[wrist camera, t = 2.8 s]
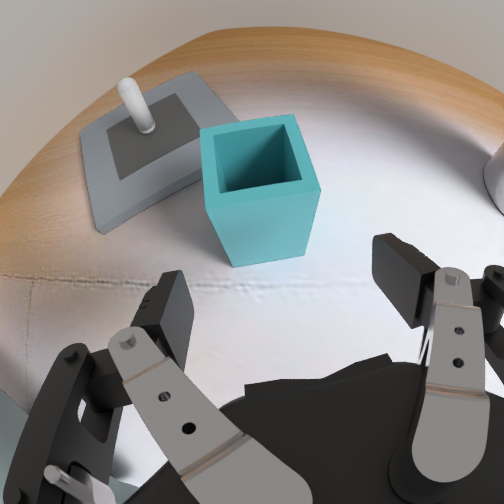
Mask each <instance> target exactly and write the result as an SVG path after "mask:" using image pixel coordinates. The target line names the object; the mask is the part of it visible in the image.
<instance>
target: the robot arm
mask: <svg viewBox="0 0 504 504" xmlns="http://www.w3.org/2000/svg"><path fill="white" fill-rule="evenodd" d="M483 173H484V180H485V184H486V187H487V190H488V192H489V194H490V196H491V198H492V199H493V201H494V203H495V204H496V206H497V207H498V208H499V210H500V211H501V212H502V213H503V214H504V143H503V144H502V145H501V147H500V148H499V149H498V150H497V152H496V153H495V154H494V155H493V157H492V158H491V159H490V160H489V161H488V163H487V164H486V165H485V167H484V172H483ZM372 275H373V279H374V281H375V283H376V284H377V285H378V287H379V288H380V289H381V290H382V292H383V293H384V294H385V295H386V297H387V298H388V299H389V300H390V302H391V303H392V304H393V306H394V307H395V308H396V309H397V311H398V312H399V313H400V315H401V316H402V317H403V319H404V320H405V321H406V323H407V324H408V325H409V327H410V328H411V329H413V328H416V327H419V326H422V325H423V326H424V330H423V334H422V339H421V345H420V350H419V355H418V360H417V364H416V363H409V362H392V360H391V359H390V357H389V355H388V353H386V354H383V355H379V356H376V357H373V358H369V359H366V360H362V361H359V362H355V363H353V364H351V365H349V366H347V367H345V368H343V369H341V370H339V371H337V372H335V373H333V374H331V375H329V376H327V377H325V378H321V379H279V380H273V381H267V382H260V383H254V384H246V385H244V387H245V396H242V397H239V398H237V399H235V400H232V401H230V402H229V403H227V404H225V405H223V406H222V407H221V408H219V409H217V408H216V407H215V406H214V405H213V404H212V403H211V402H210V400H209V399H208V398H207V397H206V396H205V395H204V394H203V393H202V392H201V391H200V390H199V389H198V388H197V387H196V386H195V385H194V384H193V382H192V381H191V380H190V379H189V378H188V377H187V376H186V375H185V374H184V369H185V363H186V357H187V351H188V346H189V340H190V335H191V329H192V324H193V319H194V307H193V302H192V299H191V296H190V293H189V290H188V287H187V284H186V281H185V278H184V275H183V272H182V271H181V270H177V271H171V272H165V273H163V274H162V276H161V278H160V280H159V282H158V284H157V286H153V287H152V288H151V289H150V290H149V291H148V292H147V293H146V294H145V296H144V298H143V300H142V303H141V304H140V306H139V309H138V310H137V312H136V314H135V317H134V319H133V321H132V323H131V325H130V327H128V328H125V329H123V330H120V331H119V332H117V333H116V334H115V335H114V336H113V337H112V338H111V339H110V341H109V343H108V348H107V349H104V350H100V351H97V352H94V353H90V351H89V350H88V348H87V346H86V345H85V344H83V343H75V344H72V345H69V346H68V347H66V348H65V349H63V350H62V351H61V352H60V353H59V355H58V356H57V358H56V360H55V362H54V364H53V366H52V367H51V369H50V371H49V373H48V375H47V377H46V379H45V381H44V383H43V385H42V388H41V390H40V392H39V394H38V396H37V398H36V400H35V403H34V405H33V407H32V409H31V412H30V414H29V416H28V419H27V421H26V424H25V426H24V429H23V431H22V434H21V436H20V439H19V442H18V444H17V447H16V450H15V453H14V456H13V459H12V462H11V465H10V468H9V472H8V475H7V479H6V482H5V486H4V490H3V502H4V504H116V503H115V496H114V494H113V492H112V490H111V489H110V488H109V487H108V485H109V478H110V472H111V466H112V460H113V454H114V449H115V444H116V439H117V434H118V429H119V424H120V420H121V415H122V411H123V406H126V405H130V404H134V406H135V408H136V410H137V411H138V413H139V415H140V417H141V418H142V420H143V422H144V423H145V425H146V427H147V428H148V430H149V431H150V433H151V435H152V436H153V438H154V439H155V441H156V442H157V444H158V445H159V447H160V448H161V450H162V451H163V453H164V454H165V456H166V457H167V459H168V461H167V462H166V463H165V464H164V465H163V466H162V467H161V468H160V469H159V470H158V471H157V472H156V473H155V474H154V475H153V476H152V477H151V478H150V479H149V480H148V481H147V482H145V483H144V484H143V485H142V486H141V487H140V488H139V489H138V490H137V491H136V492H135V493H134V494H133V495H131V496H130V497H129V498H128V499H127V500H126V501H125V502H124V503H122V504H504V398H503V397H500V396H498V395H495V394H492V393H490V392H487V391H485V358H486V359H487V361H488V362H489V364H490V365H491V367H492V368H493V370H494V371H495V372H496V374H497V375H498V377H499V378H500V380H501V381H502V383H503V385H504V328H503V327H502V326H501V325H500V321H501V318H502V316H503V313H504V267H502V266H498V265H490V266H487V267H486V268H485V270H484V274H483V278H482V279H470V278H469V276H468V275H467V274H466V273H465V272H464V271H462V270H460V269H457V268H452V267H444V268H440V267H439V266H438V265H437V264H435V263H434V262H433V261H432V260H431V259H429V258H428V257H427V256H426V257H425V255H424V254H423V253H422V252H420V251H419V250H418V249H417V248H415V247H414V246H413V245H410V244H408V243H405V242H403V241H401V240H400V239H399V238H397V237H396V236H395V235H393V234H392V233H386V234H380V235H375V236H374V237H373V242H372ZM81 399H83V400H84V401H85V402H86V407H85V410H84V413H83V416H82V419H81V422H79V419H78V415H77V412H78V407H79V405H80V402H81Z"/></svg>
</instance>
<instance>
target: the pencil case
mask: <svg viewBox="0 0 504 504" xmlns="http://www.w3.org/2000/svg"><path fill="white" fill-rule="evenodd" d="M28 416H29V415H28V414H27V413H26V412H25V411H24V410H23V409H22V408H21V407H20V406H19V405H18V404H17V403H15V402H14V401H13V400H12V399H11V398H10V397H9V396H8V395H7V394H6V393H5V392H4V391H3V390H0V504H4V502H3V490H4V486H5V482H6V479H7V475H8V472H9V468H10V465H11V462H12V459H13V456H14V453H15V450H16V447H17V444H18V442H19V439H20V436H21V434H22V431H23V429H24V426H25V424H26V421H27V419H28ZM108 487H109V488H110V489H111V490H112V492H113V494H114V496H115V503H116V504H122V503H124V502H125V501H126V500H127V499H128V498H129V497H130V496H131V495H133V494H134V493H135V492H136V491H137V490H138V489H139V488H138V487H136V486H134V485H131V484H127V483H124V482H120V481H117V480H116V479H114V478H113V477H112V476H110V478H109V485H108Z"/></svg>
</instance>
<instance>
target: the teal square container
mask: <svg viewBox="0 0 504 504" xmlns="http://www.w3.org/2000/svg"><path fill="white" fill-rule="evenodd" d="M200 144H201V159H202V173H203V186H204V199H205V210H206V212H207V214H208V216H209V218H210V220H211V222H212V225H213V227H214V229H215V231H216V233H217V235H218V237H219V239H220V241H221V243H222V245H223V248H224V250H225V252H226V254H227V256H228V258H229V260H230V262H231V264H232V266H233V268H235V267H241V266H247V265H253V264H258V263H264V262H270V261H275V260H281V259H287V258H292V257H298V256H303V255H304V254H305V251H306V247H307V243H308V239H309V236H310V232H311V228H312V224H313V220H314V217H315V213H316V209H317V205H318V201H319V197H320V193H321V189H320V186H319V182H318V179H317V177H316V174H315V171H314V168H313V165H312V162H311V159H310V156H309V154H308V151H307V148H306V145H305V143H304V140H303V137H302V135H301V132H300V129H299V127H298V124H297V122H296V119H295V117H294V114H291V115H282V116H274V117H267V118H260V119H253V120H247V121H241V122H235V123H230V124H224V125H219V126H214V127H209V128H205V129H200Z"/></svg>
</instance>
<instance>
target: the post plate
mask: <svg viewBox="0 0 504 504" xmlns="http://www.w3.org/2000/svg"><path fill="white" fill-rule="evenodd" d="M117 90H118V92H119V94H120V96H121V98H122V100H123V102H124V104H122V105H121V106H119V107H117V108H115V109H114V110H112V111H110V112H109V113H107V114H105V115H104V116H102V117H101V118H99V119H97V120H96V121H94V122H93V123H91V124H90V125H88V126H87V127H85V128H84V129H82V130H81V131H80V137H81V146H82V154H83V161H84V168H85V175H86V181H87V186H88V192H89V197H90V202H91V207H92V212H93V216H94V221H95V225H96V229H97V230H98V231H100V232H101V233H102V234H103V235H105V234H106V233H108V232H109V231H111V230H113V229H114V228H116V227H117V226H119V225H120V224H122V223H124V222H125V221H127V220H129V219H130V218H132V217H134V216H135V215H137V214H139V213H140V212H142V211H144V210H145V209H147V208H149V207H150V206H152V205H154V204H156V203H157V202H159V201H161V200H163V199H164V198H166V197H168V196H170V195H172V194H173V193H175V192H177V191H179V190H181V189H183V188H184V187H186V186H188V185H190V184H192V183H194V182H196V181H198V180H200V179H201V178H203V173H202V159H201V144H200V129H205V128H209V127H214V126H219V125H224V124H230V123H235V122H240V121H239V120H238V119H237V118H236V117H235V115H234V114H233V113H232V112H231V111H230V110H229V109H228V107H227V106H226V105H225V104H224V103H223V102H222V101H221V100H220V98H219V97H218V96H217V95H216V94H215V93H214V92H213V91H212V90H211V89H210V87H209V86H208V85H207V84H206V83H205V82H204V81H203V80H202V79H201V78H200V77H199V76H198V75H197V74H196V73H195V72H194V70H193V71H190V72H188V73H185V74H183V75H181V76H178V77H176V78H174V79H172V80H169V81H167V82H165V83H163V84H161V85H159V86H157V87H155V88H153V89H151V90H149V91H147V92H145V93H143V94H141V92H140V90H139V88H138V85H137V83H136V81H135V80H134V79H133V78H130V77H127V78H124V79H122V80H121V81H120V82H119V83H118V86H117Z"/></svg>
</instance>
